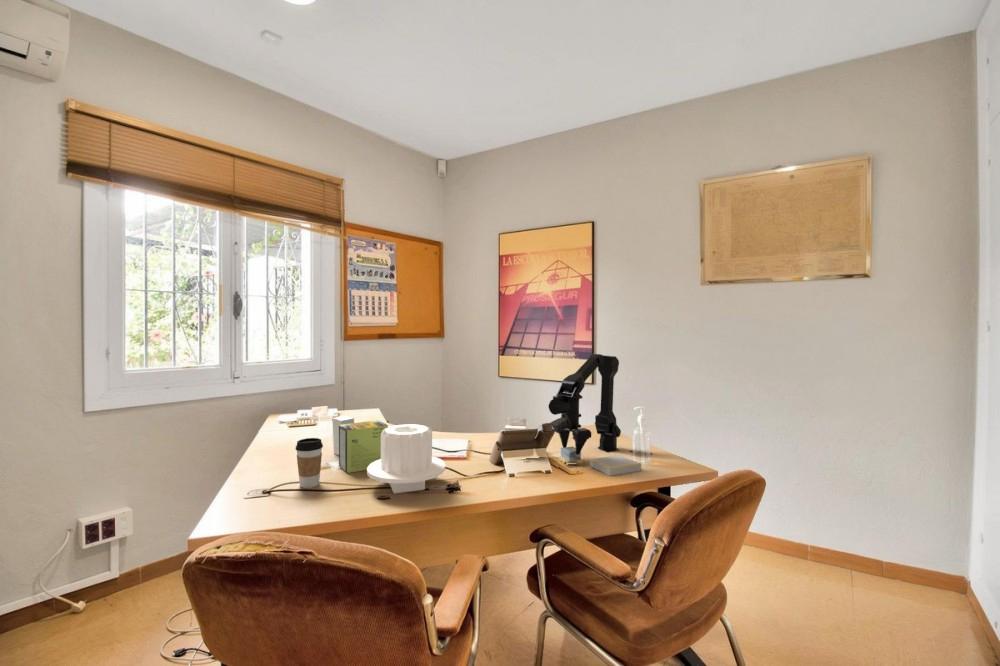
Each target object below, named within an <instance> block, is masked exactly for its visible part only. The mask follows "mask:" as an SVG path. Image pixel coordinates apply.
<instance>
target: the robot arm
mask: <svg viewBox="0 0 1000 666" xmlns="http://www.w3.org/2000/svg"><path fill="white" fill-rule="evenodd" d="M619 365H620V361H619V359H618V357H617V356H614V355H603V354H602V353H601V354H599V353H591V354H590V355H589V358H587V360H586V361H585V362H584V363H583V364H582V365H581V366H580V367H579V368H578V369H577V371H576V372H574V373H572V374H569V375H568V376H566V377H565V378H563V380H562V381H561V383H560V386H559V388H558V390H557V392H556V394H555V395H553V396H552V399H551V400H550V401H549V402H548V410H549V412H550V413H551V414H552V415H555V416H557V415H560V418H555V419H554V420H552V421H551V422H549V425H550V424H552V426H553V428H554V431H553V432H555V433H557V434H558V436H559V438H560V442H561V444H562V445H561V446H562V448H565V447H568V446H567V445H568V443H569V437H570V434H571V433H572V434H571V435H572V437H571V438H572V440H573V441H574V444H575V447H574V448H576V454H577V455H578V454H580V452H581V453H582V449H583V448H584V446H585V444H586V443H587V440H590V438H592V431H591V430H590V429H589V428H586V427H583V428H582V424H580V418H582V413H580V399H581V400H582V399H583V395H581V393H582V392H583V389H584V388H585V386H586V384H585V383H586V381H587V380H588V379H589V378H590V376H591V375H592V374H593V373H594V372H595V371H596V370H598V373H599V375H600V377H601V381H600V382H601V389H600V390H601V391H600V409H599V410H600V411H599V413H597V414H596V415H595V417H594V419H595V421H594V425H595V430H596V434H597V435H599V437H600V438H599V446H597V448H598V449H599V450H601V451H604V452H606V453H609V452H617V451H620V449H619V448H617V445H618V438H619V437H620V436H621V433H622V430H621V429H620V427H619V426H618V425H617V417H616V415H615V414H614V410H613V409H614V383H615V381H614V380H615V379H614V377H616V374H617V373H618V371H619Z"/></svg>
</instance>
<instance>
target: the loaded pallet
mask: <svg viewBox="0 0 1000 666" xmlns="http://www.w3.org/2000/svg"><path fill="white" fill-rule="evenodd" d="M559 458H560V459H562V460H563V461H565V462H567V463H577V464H576V465H579V464H583V463H584V458H583V459H582V451H581V452H580V454H578V455H577V454H576V447H574V446H566V447H565V448H563V447H560V456H559V457H558V459H559Z"/></svg>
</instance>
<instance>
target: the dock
mask: <svg viewBox="0 0 1000 666" xmlns="http://www.w3.org/2000/svg"><path fill="white" fill-rule="evenodd" d="M589 466H590V467H592V468H594V469H596V470H597V471H600V472H601V473H603V474H606V475H607V476H609V477H611V476H617V475H622V474H630V473H636V472H641V471H642V462H638V461H635V460H633V459H631V458H628V457H625V456H624V455H620V454H617V455H611V456H610V455H609V456H604V457H597V458H589Z"/></svg>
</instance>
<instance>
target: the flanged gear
mask: <svg viewBox="0 0 1000 666" xmlns="http://www.w3.org/2000/svg"><path fill="white" fill-rule="evenodd" d="M445 471H446V463H445V461H444V460H442V459H441V458H440V457H436V456H433V430H432V428H431V427H429V426H426V425H425V424H424V425H421V424H416V423H411V424H409V423H407V424H403V423H402V424H397V425H391V426H389V427H388V428H385V429H384V430H383V431H382V433H381V459H379V460H377V461H375V462H373V463H371V464H370V465H369V466H368V467H367V470H366V474H367V476H368V477H369V478H371V479H372V480H374V481H377V482H381V483H388V484H389V486H390V489H391V490H392V493H393V494H402V493H409V492H410V493H411V492H417V491H423V490H425V489H426V481H429V480H432V479H435V478H438V477H439V476H441V475H443V473H444V472H445Z"/></svg>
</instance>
